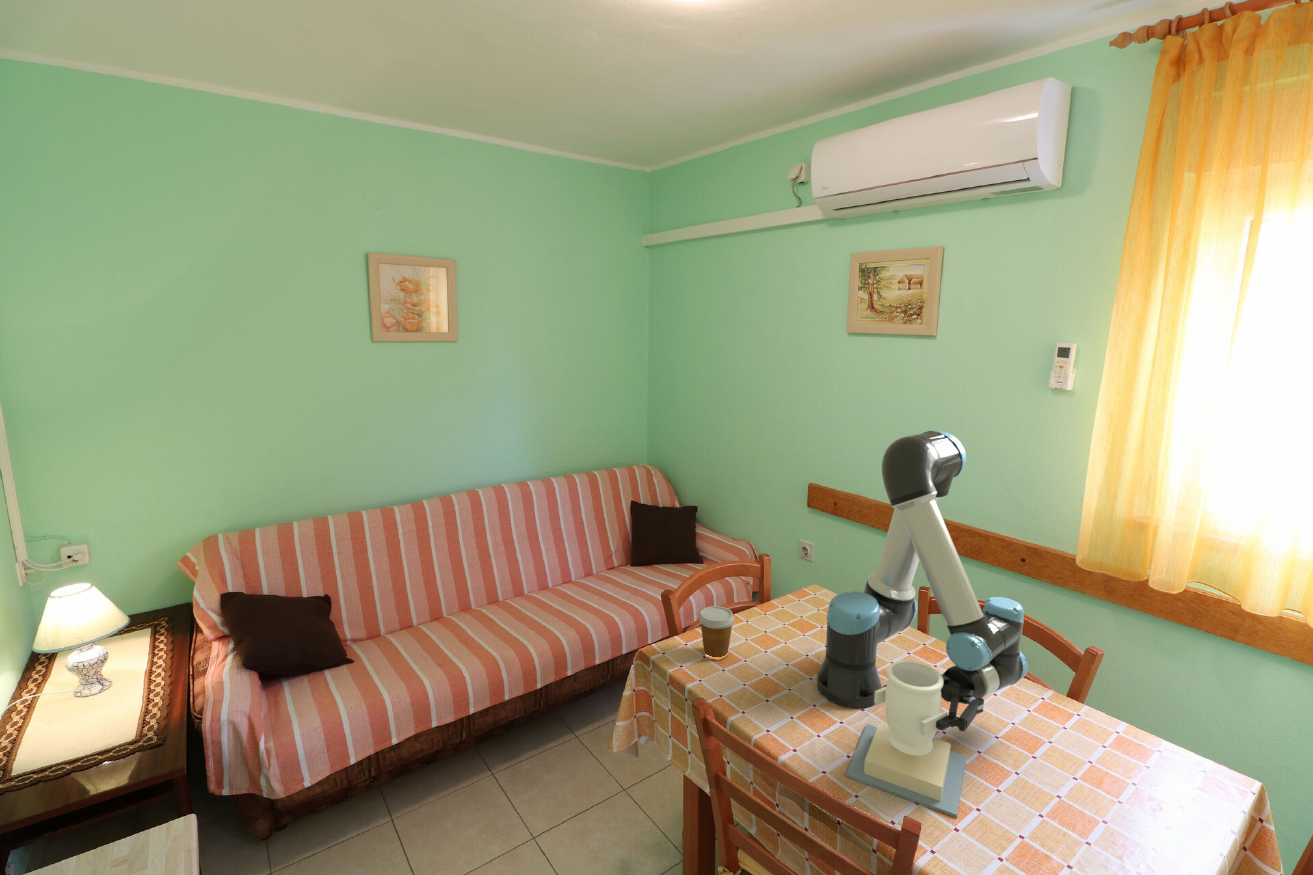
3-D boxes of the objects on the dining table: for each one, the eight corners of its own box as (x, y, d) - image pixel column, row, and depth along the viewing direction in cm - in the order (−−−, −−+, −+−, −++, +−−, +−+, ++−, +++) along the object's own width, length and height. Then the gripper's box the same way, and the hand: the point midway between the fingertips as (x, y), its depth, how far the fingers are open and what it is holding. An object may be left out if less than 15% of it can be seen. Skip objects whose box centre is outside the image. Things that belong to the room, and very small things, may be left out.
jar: (933, 767, 116) (939, 695, 114) (877, 748, 122) (881, 679, 119) (941, 736, 125) (947, 668, 123) (888, 719, 131) (892, 654, 128)
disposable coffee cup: (692, 657, 166) (692, 616, 163) (708, 642, 174) (708, 602, 171) (724, 667, 161) (725, 625, 158) (739, 651, 169) (740, 610, 166)
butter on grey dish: (845, 776, 122) (846, 760, 122) (866, 726, 137) (867, 711, 137) (956, 817, 112) (958, 800, 111) (966, 758, 127) (967, 742, 127)
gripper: (1022, 726, 121) (949, 765, 111) (922, 671, 141) (852, 699, 131) (1025, 692, 120) (952, 728, 110) (925, 640, 140) (854, 667, 129)
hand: (898, 712), depth 120 cm, fingers closed on jar, 10 cm apart
